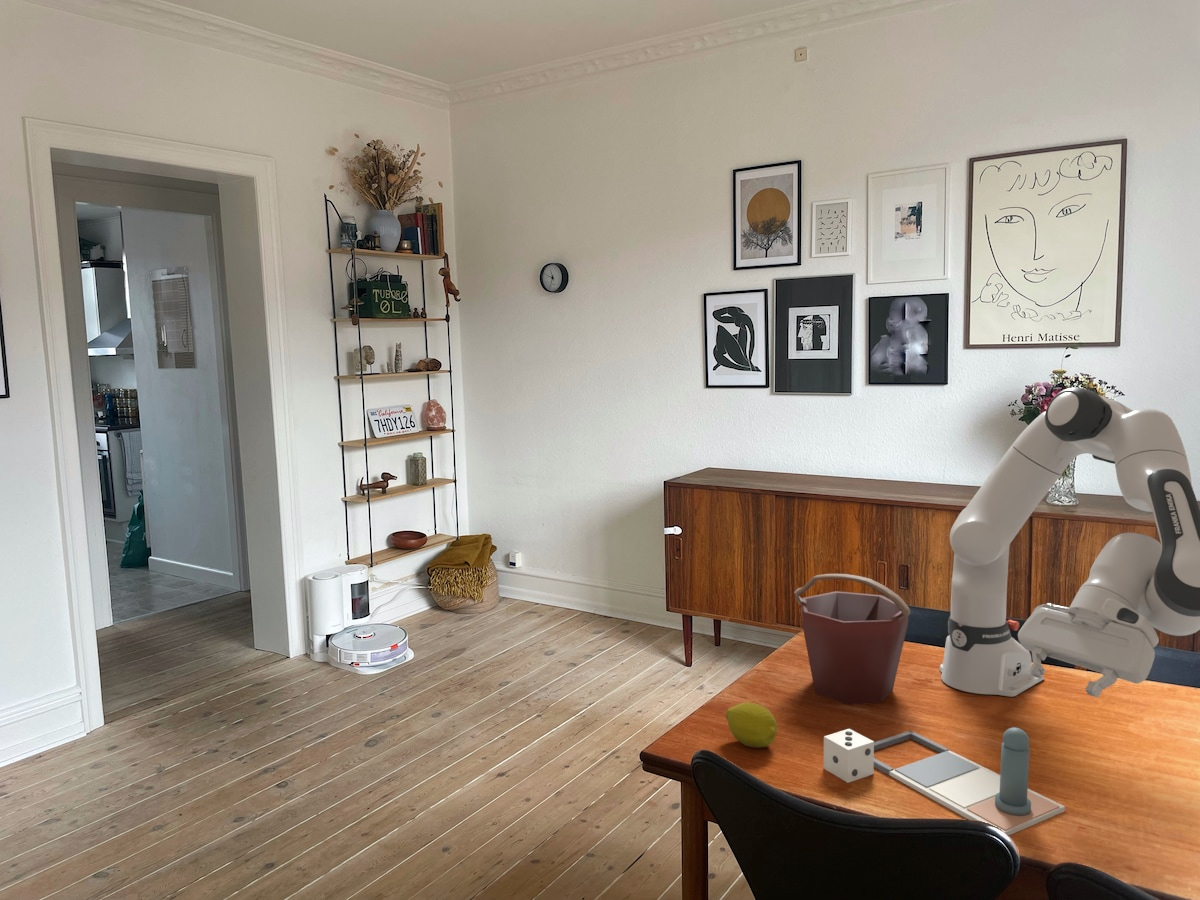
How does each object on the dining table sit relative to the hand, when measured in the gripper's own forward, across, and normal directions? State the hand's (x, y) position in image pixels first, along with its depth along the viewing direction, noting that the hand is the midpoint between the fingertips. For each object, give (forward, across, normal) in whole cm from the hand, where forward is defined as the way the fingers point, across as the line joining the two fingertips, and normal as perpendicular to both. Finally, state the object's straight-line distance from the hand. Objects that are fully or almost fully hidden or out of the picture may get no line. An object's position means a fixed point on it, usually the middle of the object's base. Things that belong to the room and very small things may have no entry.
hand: (1062, 684), depth 141 cm
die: (+29, -25, -1) cm, 39 cm away
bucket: (+9, -51, +19) cm, 55 cm away
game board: (+20, -12, +7) cm, 25 cm away
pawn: (+20, -1, +6) cm, 21 cm away
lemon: (+34, -43, -6) cm, 55 cm away
